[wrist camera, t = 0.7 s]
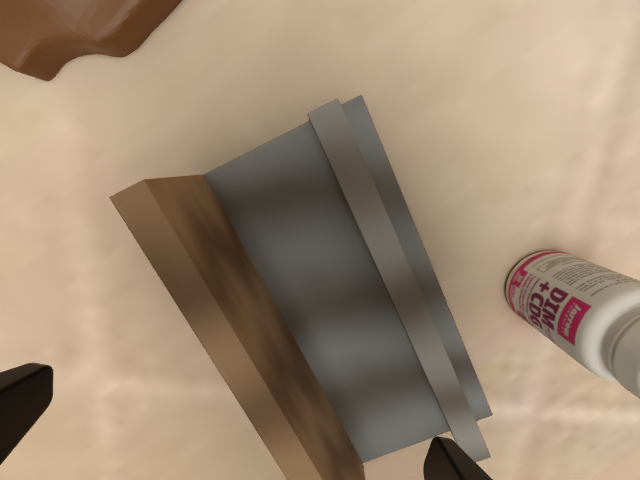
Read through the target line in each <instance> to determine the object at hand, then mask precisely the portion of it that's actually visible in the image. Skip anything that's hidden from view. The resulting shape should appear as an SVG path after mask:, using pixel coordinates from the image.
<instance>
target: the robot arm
mask: <svg viewBox="0 0 640 480" xmlns="http://www.w3.org/2000/svg"><path fill="white" fill-rule="evenodd" d="M52 397H53V369H52V367H51V366H49V365H45V364H39V363H28V364H25V365H22V366H19V367H16V368H13V369H10V370H7V371H3V372H0V465H1V464H2V463H3V461H4V460H5V459H6V458H7V456H8V455H9V454H10V453H11V452H12V450H13V449H14V448H15V447H16V445H17V444H18V443H19V442H20V441H21V439H22V438H23V437H24V436H25V435H26V433H27V432H28V431H29V430H30V428H31V427H32V426H33V425H34V424H35V422H36V421H37V420H38V419H39V417H40V416H41V415H42V414H43V413H44V411H45V410H46V409H47V408H48V406H49V404H50V403H51V400H52ZM423 470H424V479H425V480H492V479H491V478H490V477H489V476H488V475H487V474H486V473H485V472H484V471H483V470H482V469H481V468H480V467H479V466H478V465H477V464H476V463H475V462H474V461H473V460H472V459H471V458H470V457H469V456H468V455H467V454H466V453H465V452H464V451H463V450H462V449H461V448H460V446H459V445H458V444H457V443H456V442H454V441H453V440H452V439H449V438H444V437H438V436H437V437H434V438H433V440H432V442H431V445H430V448H429V450H428V453H427V456H426V459H425V462H424V469H423Z"/></svg>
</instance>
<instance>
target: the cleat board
mask: <svg viewBox="0 0 640 480" xmlns="http://www.w3.org/2000/svg"><path fill="white" fill-rule="evenodd" d="M308 117H309V120H310V121H309V122H307V123H305V124H303V125H301V126H299V127H297V128H295V129H293V130H291V131H289V132H287V133H285V134H283V135H281V136H279V137H277V138H275V139H273V140H272V141H270V142H268V143H266V144H264V145H262V146H260V147H258V148H256V149H254V150H252V151H250V152H248V153H246V154H244V155H242V156H240V157H238V158H236V159H234V160H232V161H230V162H228V163H226V164H224V165H222V166H220V167H218V168H216V169H214V170H212V171H210V172H208V173H206V174H205V175H194V176H182V177H170V178H158V179H146V180H142V181H140V182H138V183H136V184H134V185H132V186H130V187H128V188H126V189H125V190H123V191H121V192H119V193H117V194H115V195H113V196H111V197H109V198H110V200H111V201H112V203H113V204H114V206H115V207H116V209H117V211H118V212H119V214H120V215H121V217H122V219H123V220H124V222H125V223H126V225H127V226H128V228H129V230H130V231H131V233H132V234H133V236H134V238H135V239H136V241H137V242H138V244H139V245H140V247H141V249H142V250H143V252H144V253H145V255H146V257H147V258H148V260H149V261H150V263H151V264H152V266H153V268H154V269H155V271H156V272H157V274H158V276H159V277H160V279H161V280H162V282H163V283H164V285H165V287H166V288H167V290H168V291H169V293H170V295H171V296H172V298H173V299H174V301H175V302H176V304H177V306H178V307H179V309H180V310H181V312H182V314H183V315H184V317H185V318H186V320H187V321H188V323H189V325H190V326H191V328H192V329H193V331H194V333H195V334H196V336H197V337H198V339H199V340H200V342H201V344H202V345H203V347H204V348H205V350H206V352H207V353H208V355H209V356H210V358H211V359H212V361H213V363H214V364H215V366H216V367H217V369H218V371H219V372H220V374H221V375H222V377H223V378H224V380H225V382H226V383H227V385H228V386H229V388H230V390H231V391H232V393H233V394H234V396H235V397H236V399H237V401H238V402H239V404H240V405H241V407H242V408H243V410H244V412H245V413H246V415H247V416H248V418H249V420H250V421H251V423H252V424H253V426H254V427H255V429H256V431H257V432H258V434H259V435H260V437H261V439H262V440H263V442H264V443H265V445H266V446H267V448H268V450H269V451H270V453H271V454H272V456H273V458H274V459H275V461H276V462H277V464H278V465H279V467H280V469H281V470H282V472H283V473H284V475H285V477H286V478H287V480H365V475H364V467H363V463H364V462H367V461H370V460H372V459H375V458H378V457H380V456H383V455H386V454H389V453H391V452H394V451H397V450H399V449H402V448H405V447H408V446H410V445H413V444H416V443H418V442H421V441H424V440H426V439H429V438H432V437H435V436H437V435H440V434H443V433H445V432H448V431H451V433H452V435H453V437H454V439H455V441H456V443H457V444H458V445H459V446H460V448H461V449H462V450H463V451H464V452H465V453H466V454H467V455H468V456H469V457H470V458H471V459H472V460H473V461H474V462H478V461H481V460H484V459H486V458H489V457H491V455H490V453H489V451H488V448H487V446H486V444H485V441H484V439H483V437H482V434H481V432H480V430H479V427H478V425H477V423H476V421H478V420H481V419H483V418H486V417H489V416H491V415H493V414H492V412H491V410H490V407H489V405H488V402H487V400H486V397H485V395H484V392H483V390H482V388H481V385H480V383H479V380H478V378H477V375H476V373H475V370H474V368H473V366H472V363H471V361H470V358H469V356H468V353H467V351H466V349H465V346H464V344H463V341H462V339H461V336H460V334H459V331H458V329H457V327H456V324H455V322H454V319H453V317H452V314H451V312H450V309H449V307H448V305H447V302H446V300H445V297H444V295H443V292H442V290H441V288H440V285H439V283H438V280H437V278H436V275H435V273H434V270H433V268H432V266H431V263H430V261H429V258H428V256H427V253H426V251H425V248H424V246H423V244H422V241H421V239H420V236H419V234H418V231H417V229H416V227H415V224H414V222H413V219H412V217H411V214H410V212H409V209H408V207H407V205H406V202H405V200H404V197H403V195H402V192H401V190H400V187H399V185H398V183H397V180H396V178H395V175H394V173H393V170H392V168H391V166H390V163H389V161H388V158H387V156H386V153H385V151H384V148H383V146H382V144H381V141H380V139H379V136H378V134H377V131H376V129H375V126H374V124H373V122H372V119H371V117H370V114H369V112H368V109H367V107H366V104H365V102H364V100H363V97H362V95H360V96H358V97H356V98H354V99H352V100H350V101H348V102H346V103H344V104H342V105H341V104H340V102H339V100H338V98H337V99H335V100H333V101H331V102H329V103H327V104H325V105H323V106H321V107H319V108H317V109H315V110H314V111H312V112H310V113H308Z"/></svg>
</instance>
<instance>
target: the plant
mask: <svg viewBox="0 0 640 480" xmlns="http://www.w3.org/2000/svg"><path fill="white" fill-rule="evenodd" d="M180 1H181V0H0V62H1V63H3V64H4V65H6V66H8V67H9V68H11V69H13V70H15V71H17V72H20V73H23V74H26V75H29V76H32V77H36V78H39V79H42V80H45V81H50V80H52V79H53V78H54V77H55V76H56V74H57V73H58V72H59V70H60V69H61V68H62V67H63V66H64V65H65V64H66V63H67V62H68V61H70V60H72V59H74V58H76V57H79V56H83V55H89V54H103V55H109V56H114V57H124V56H127V55H128V54H130V53H132V52H133V51H135V50H136V49H137V48H138V47H139V46H140V45H141V44H142V43H143V42H144V41H145V39H146V38H147V37H148V36H149V35H150V33H151V32H152V31H153V30H154V29H155V28H156V27H157V26H158V25H159V24H160V23H161V22H162V21H163V20H164V19H165V18H166V17H167V16H168V15H169V14H170V13H171V12H172V10H173V9H174V8H175V7H176V6H177V5H178V4H179V3H180Z"/></svg>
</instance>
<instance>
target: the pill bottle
mask: <svg viewBox="0 0 640 480" xmlns="http://www.w3.org/2000/svg"><path fill="white" fill-rule="evenodd" d="M506 297H507V301H508V303H509V305H510V307H511V308H512V309H513V311H514V312H515V313H516V314H518V315H519V316H520V317H521V318H523V319H524V320H525V321H526V322H528V323H529V324H530V325H531V326H533V327H534V328H535V329H537V330H538V331H539V332H541V333H542V334H543V335H544V336H546V337H547V338H548V339H549V340H551V341H552V342H553V343H555V344H556V345H557V346H558V347H560V348H561V349H562V350H563V351H565V352H566V353H567V354H568V355H570V356H571V357H572V358H574V359H575V360H576V361H577V362H579V363H580V364H581V365H583V366H584V367H585V368H587V369H588V370H590V371H591V372H592V373H594V374H595V375H597V376H599V377H601V378H603V379H606V380H608V381H612V382H617V383H620V384H621V385H622V386H623V387H624V388H626V389H627V390H628V391H630V392H631V393H632V394H634V395H635V396H637V397H638V398H640V281H638V280H636V279H633V278H631V277H628V276H625V275H623V274H620V273H617V272H614V271H612V270H609V269H606V268H604V267H601V266H598V265H596V264H593V263H591V262H588V261H585V260H583V259H580V258H578V257H575V256H572V255H570V254H567V253H563V252H559V251H542V252H538V253H535V254H532V255H530V256H528V257H526V258H525V259H523V260H522V261H521V262H519V263H518V264H517V265H516V266H515V268H514V269H513V270H512V272H511V274H510V275H509V278H508V281H507V285H506Z"/></svg>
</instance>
